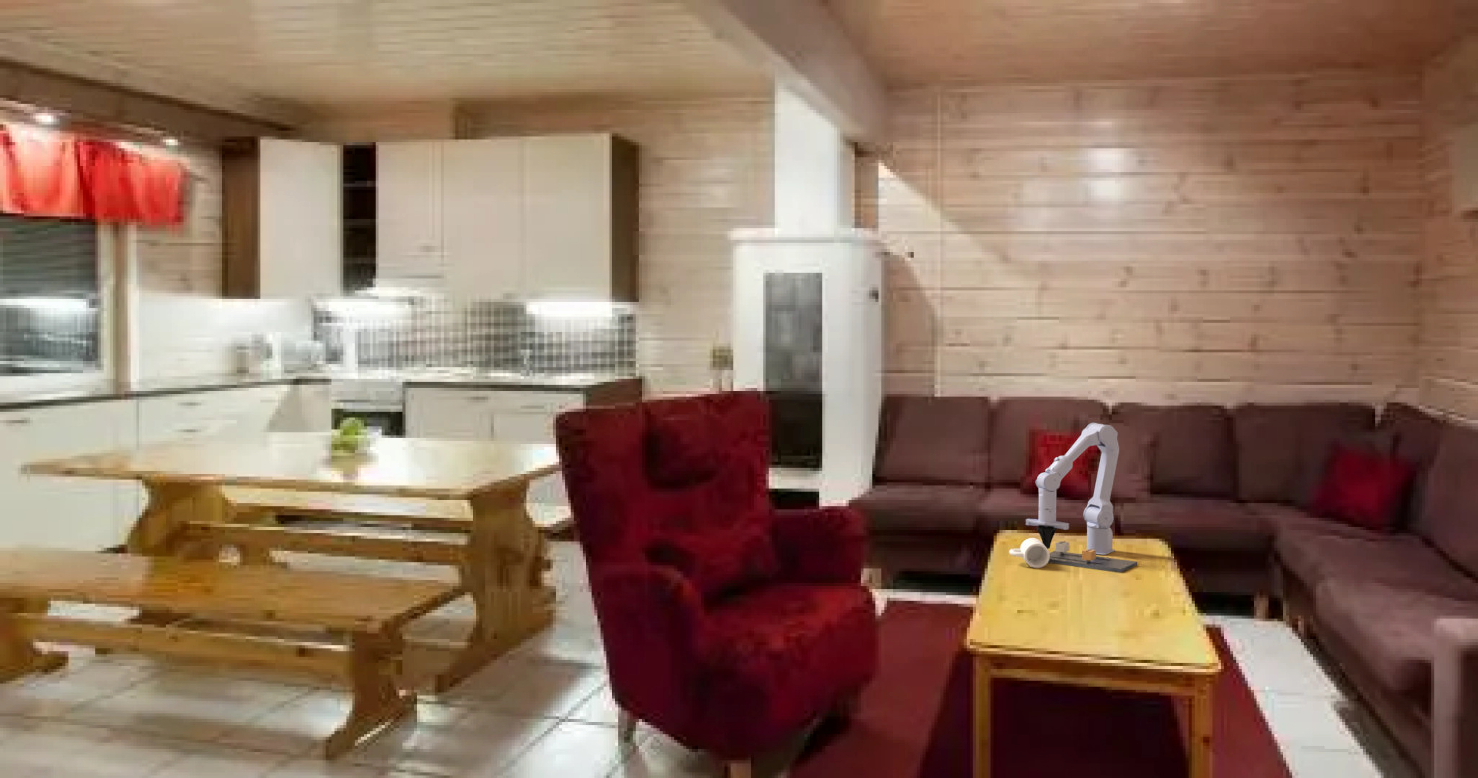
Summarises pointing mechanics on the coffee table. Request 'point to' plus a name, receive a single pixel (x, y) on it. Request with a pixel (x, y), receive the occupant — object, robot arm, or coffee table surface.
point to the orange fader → (1088, 554)
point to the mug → (1032, 553)
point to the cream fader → (1062, 546)
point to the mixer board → (1091, 562)
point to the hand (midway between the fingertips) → (1046, 548)
